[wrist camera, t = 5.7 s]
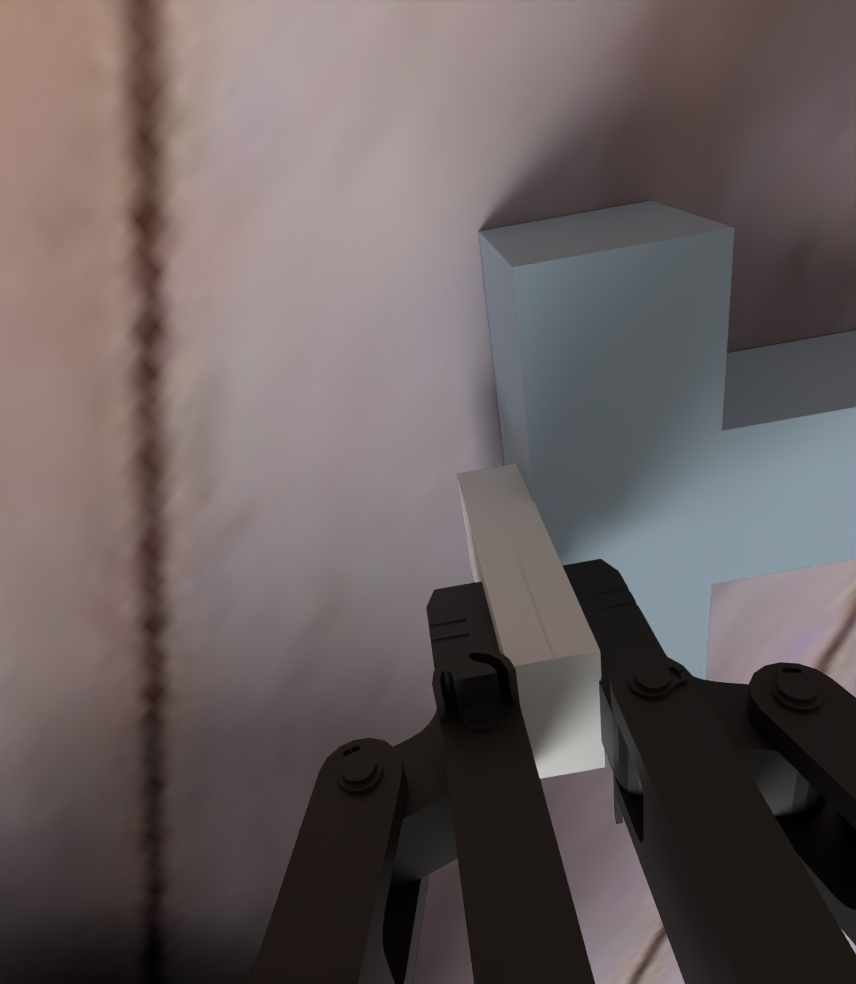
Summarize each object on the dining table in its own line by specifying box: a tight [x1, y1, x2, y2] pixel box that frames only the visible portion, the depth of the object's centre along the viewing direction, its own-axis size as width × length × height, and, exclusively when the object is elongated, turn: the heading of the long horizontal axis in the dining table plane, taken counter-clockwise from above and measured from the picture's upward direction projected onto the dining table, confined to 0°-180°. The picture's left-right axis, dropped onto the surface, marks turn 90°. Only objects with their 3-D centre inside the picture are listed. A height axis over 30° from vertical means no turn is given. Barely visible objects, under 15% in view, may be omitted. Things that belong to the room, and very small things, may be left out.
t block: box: [478, 200, 856, 680], centre depth 17 cm, size 12×12×4 cm
